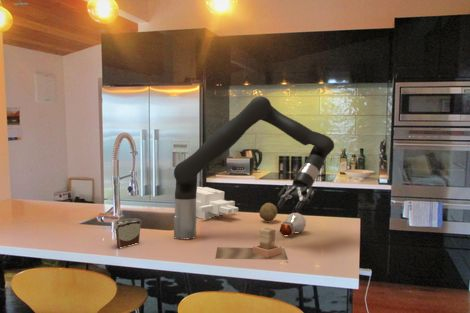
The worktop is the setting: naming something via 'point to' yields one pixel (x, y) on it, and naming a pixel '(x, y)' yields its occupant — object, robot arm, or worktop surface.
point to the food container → (127, 231)
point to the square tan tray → (267, 251)
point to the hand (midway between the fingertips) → (287, 208)
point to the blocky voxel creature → (212, 203)
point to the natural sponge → (268, 212)
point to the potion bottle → (293, 224)
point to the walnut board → (244, 254)
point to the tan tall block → (267, 238)
